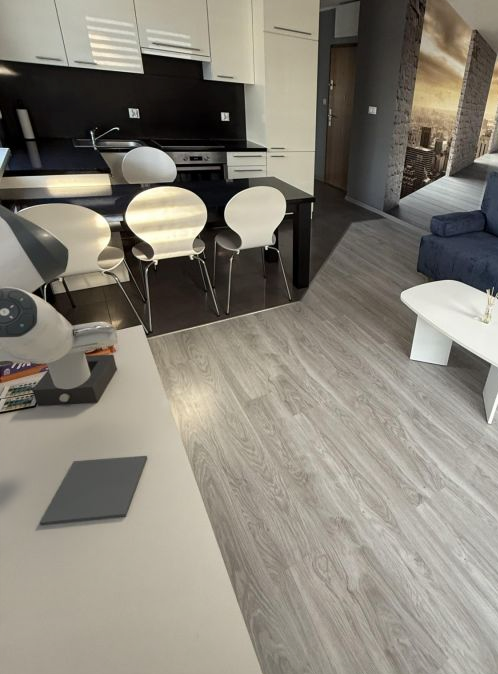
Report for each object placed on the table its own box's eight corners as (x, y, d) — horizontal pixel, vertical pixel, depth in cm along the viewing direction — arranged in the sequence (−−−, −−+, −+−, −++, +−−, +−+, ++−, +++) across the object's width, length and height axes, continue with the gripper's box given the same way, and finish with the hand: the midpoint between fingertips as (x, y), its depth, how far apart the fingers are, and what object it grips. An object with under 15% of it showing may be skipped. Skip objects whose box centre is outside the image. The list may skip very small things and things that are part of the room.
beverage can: (46, 387, 81) (28, 338, 75) (74, 368, 86) (59, 322, 81) (72, 394, 80) (56, 345, 74) (98, 374, 85) (85, 327, 80)
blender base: (35, 408, 94) (29, 392, 92) (64, 371, 106) (59, 356, 104) (95, 405, 96) (91, 389, 94) (117, 369, 109) (113, 354, 106)
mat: (40, 525, 71) (39, 522, 70) (74, 463, 82) (73, 461, 82) (125, 516, 73) (125, 513, 73) (147, 458, 84) (146, 455, 84)
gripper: (109, 309, 73) (121, 326, 86) (-36, 330, 65) (0, 347, 77) (114, 341, 72) (125, 355, 84) (-35, 368, 63) (2, 379, 75)
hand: (64, 351), depth 80 cm, fingers closed on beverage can, 6 cm apart
